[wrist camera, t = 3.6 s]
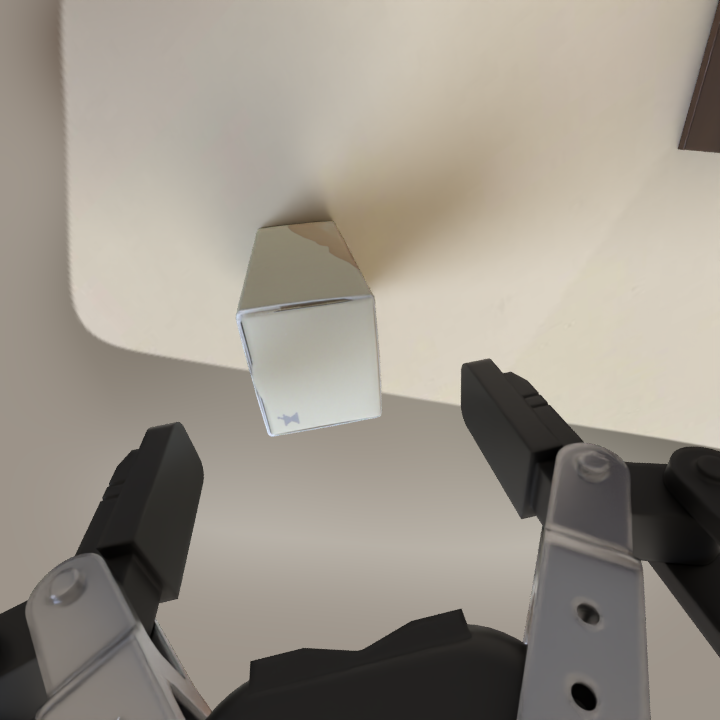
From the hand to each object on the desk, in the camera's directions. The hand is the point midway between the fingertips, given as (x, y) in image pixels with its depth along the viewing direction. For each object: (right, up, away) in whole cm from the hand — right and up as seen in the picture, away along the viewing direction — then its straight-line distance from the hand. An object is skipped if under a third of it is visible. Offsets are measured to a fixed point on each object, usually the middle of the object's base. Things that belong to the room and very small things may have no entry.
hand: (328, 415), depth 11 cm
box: (-2, +7, +11) cm, 13 cm away
